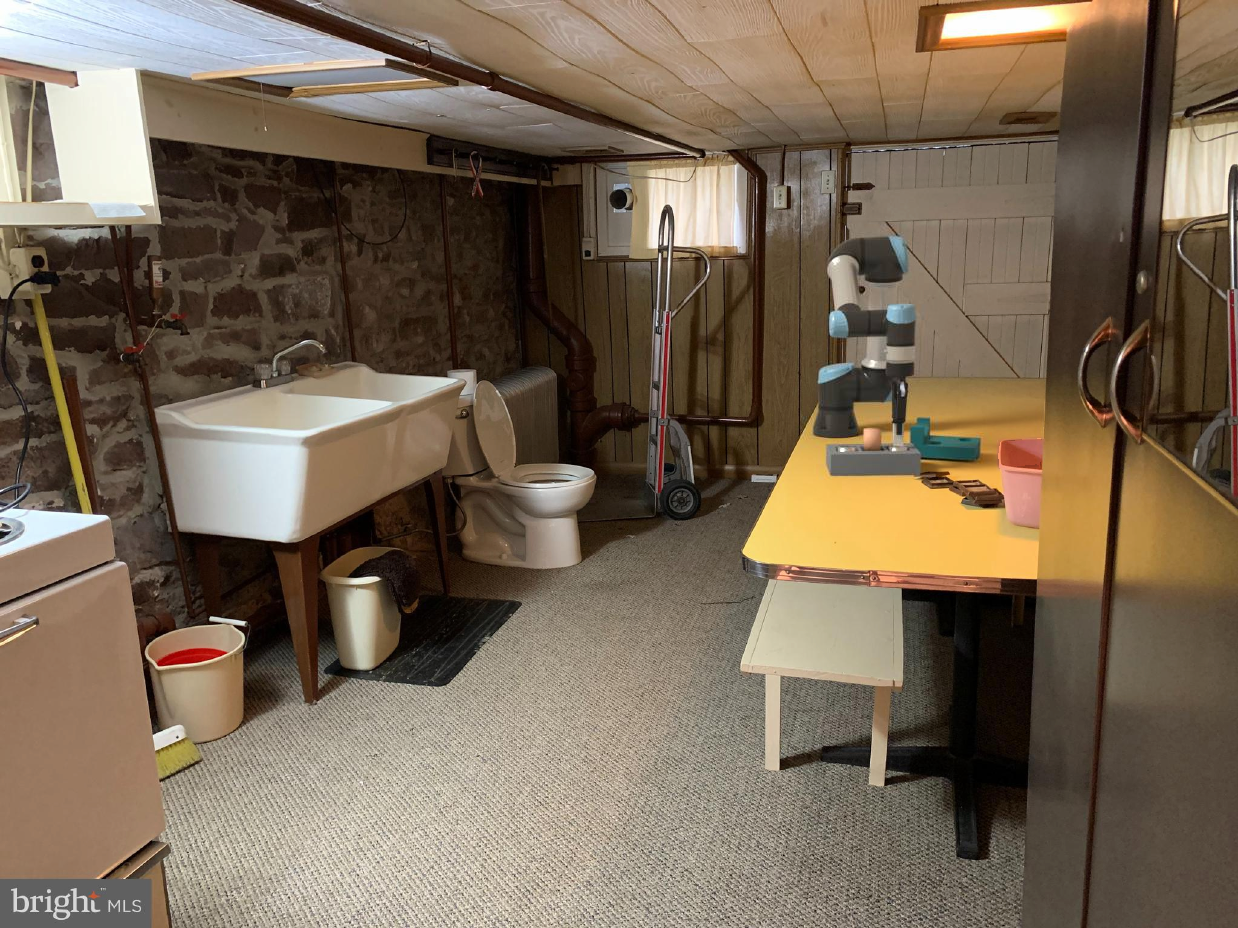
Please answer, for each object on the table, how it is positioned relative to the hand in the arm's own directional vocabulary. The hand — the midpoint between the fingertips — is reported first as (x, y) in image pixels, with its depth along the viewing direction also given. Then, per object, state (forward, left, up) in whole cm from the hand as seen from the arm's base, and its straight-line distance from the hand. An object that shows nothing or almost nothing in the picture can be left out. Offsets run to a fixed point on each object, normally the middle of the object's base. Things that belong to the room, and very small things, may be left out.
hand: (897, 445), depth 263 cm
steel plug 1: (0, -14, -7) cm, 15 cm away
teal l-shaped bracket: (-15, +16, -7) cm, 23 cm away
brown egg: (0, -7, -2) cm, 7 cm away
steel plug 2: (0, 0, -6) cm, 6 cm away
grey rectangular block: (0, -7, -7) cm, 10 cm away
